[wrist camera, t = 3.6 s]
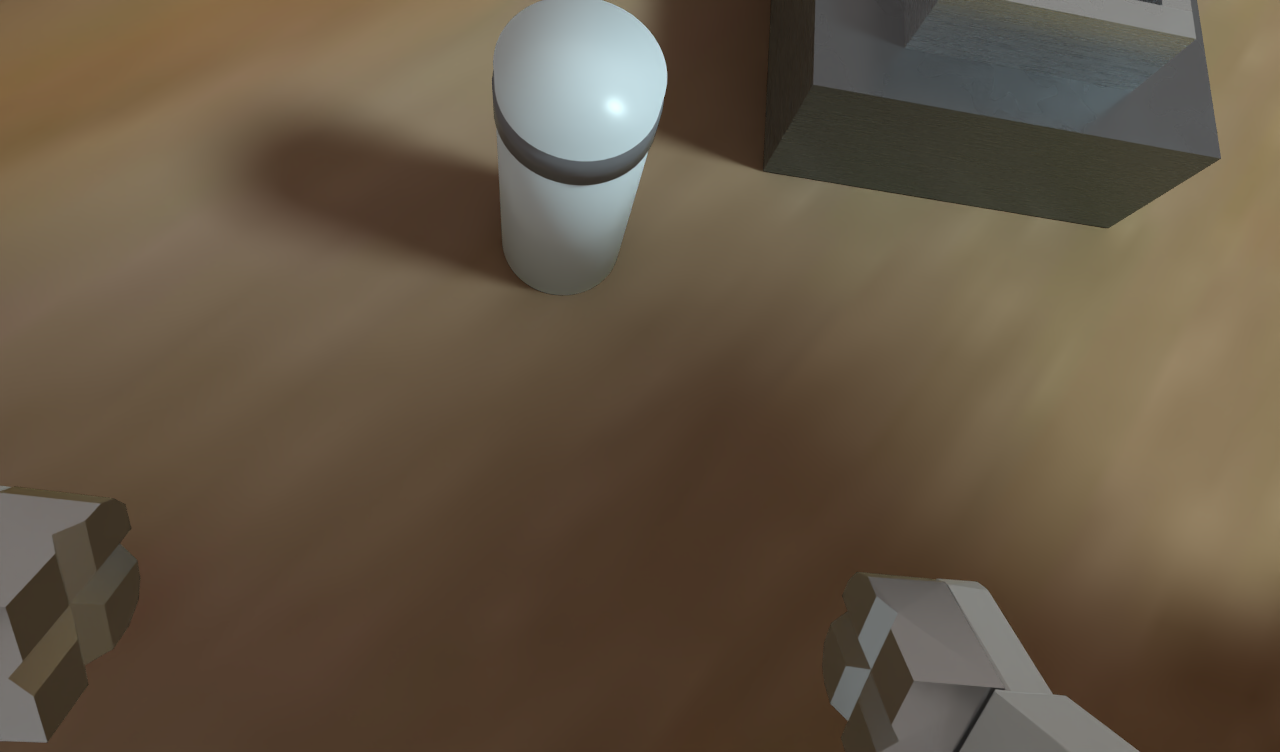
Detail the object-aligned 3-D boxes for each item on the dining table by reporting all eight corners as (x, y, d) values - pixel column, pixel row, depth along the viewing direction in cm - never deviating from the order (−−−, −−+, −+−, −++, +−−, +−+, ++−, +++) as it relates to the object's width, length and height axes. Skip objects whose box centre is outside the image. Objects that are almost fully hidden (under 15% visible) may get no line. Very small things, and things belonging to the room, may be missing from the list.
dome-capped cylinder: (625, 197, 27) (675, 11, 18) (614, 304, 26) (662, 160, 17) (509, 179, 26) (504, -21, 18) (492, 287, 25) (478, 129, 17)
